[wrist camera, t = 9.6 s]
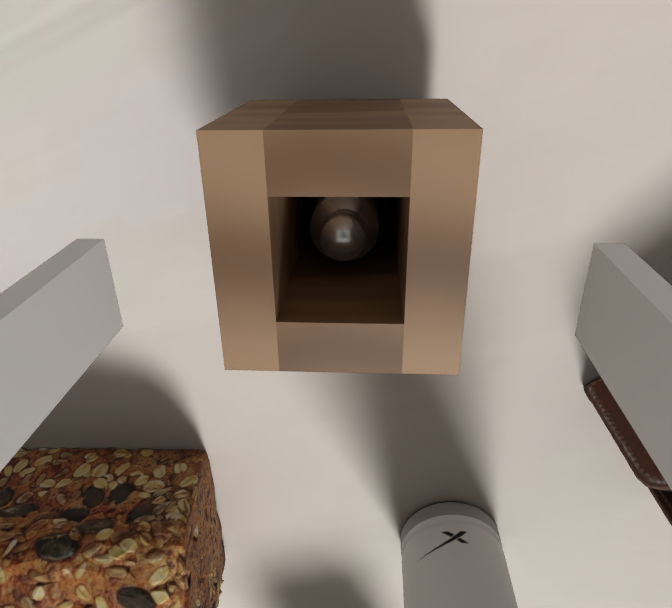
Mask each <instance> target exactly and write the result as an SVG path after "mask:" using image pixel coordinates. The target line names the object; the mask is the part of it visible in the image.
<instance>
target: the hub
mask: <svg viewBox="0 0 672 608" xmlns="http://www.w3.org/2000/svg"><path fill="white" fill-rule="evenodd" d="M396 205H397V197H302V219H303V241H313V243H314V244H315V246H316V247H317V249H318V250H319V251H320V252H321V253H322V254H324V255H325V256H327V257H329V258H331V259H333V260H337V261H352V260H356V259H359V258H361V257H363V256H364V255H366V254H367V253H368V252H369V251H370V250H371V249H372V248H373V246H374V245H375V243H376V241H395V233H396Z"/></svg>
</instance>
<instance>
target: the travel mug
mask: <svg viewBox="0 0 672 608" xmlns="http://www.w3.org/2000/svg"><path fill="white" fill-rule="evenodd" d="M401 555H402V574H403V592H404V608H518V607H517V603H516V599H515V595H514V591H513V587H512V583H511V579H510V575H509V571H508V567H507V563H506V559H505V555H504V552H503V549H502V544H501V540H500V536H499V532H498V529H497V526H496V524H495V523H494V521H493V520H492V519H491V518H490V517H489V516H488V515H487V514H486V513H485V512H483V511H481V510H480V509H478V508H476V507H473V506H471V505H468V504H463V503H455V502H446V503H438V504H434V505H430V506H427V507H425V508H423V509H421V510H419V511H418V512H416V513H414V514H413V515H412V516H411V517H410V518H409V519H408V521H407V522H406V523H405V525H404V527H403V529H402V532H401Z"/></svg>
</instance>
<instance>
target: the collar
mask: <svg viewBox="0 0 672 608" xmlns="http://www.w3.org/2000/svg"><path fill="white" fill-rule="evenodd" d="M196 133H197V141H198V150H199V158H200V166H201V175H202V183H203V191H204V200H205V208H206V216H207V225H208V233H209V241H210V249H211V258H212V266H213V274H214V283H215V291H216V299H217V308H218V316H219V324H220V333H221V341H222V349H223V358H224V366H225V370H258V371H304V372H351V373H397V374H444V375H459V365H460V355H461V345H462V335H463V325H464V315H465V304H466V294H467V284H468V274H469V264H470V254H471V244H472V234H473V224H474V214H475V204H476V194H477V184H478V174H479V164H480V154H481V144H482V134H483V129H482V128H481V127H480V126H479V125H478V124H477V123H475V122H474V121H473V120H472V119H471V118H469V117H468V116H467V115H466V114H465V113H464V112H462V111H461V110H460V109H459V108H458V107H457V106H455V105H454V104H453V103H452V102H451V101H449V100H448V99H360V100H252V101H250V102H248V103H246V104H244V105H242V106H240V107H239V108H237V109H235V110H233V111H231V112H229V113H227V114H226V115H224V116H222V117H220V118H218V119H216V120H214V121H213V122H211V123H209V124H207V125H205V126H203V127H201V128H200V129H198V130H196ZM302 197H397V205H396V233H395V241H376V243H375V245H374V246H373V248H372V249H371V250H370V251H369V252H368V253H367V254H366V255H364V256H363V257H361V258H359V259H356V260H352V261H337V260H333V259H331V258H329V257H327V256H325V255H324V254H322V253H321V252H320V251H319V250H318V249H317V247H316V246H315V244H314V243H313V241H303V219H302Z"/></svg>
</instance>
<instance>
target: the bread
mask: <svg viewBox="0 0 672 608" xmlns="http://www.w3.org/2000/svg"><path fill="white" fill-rule="evenodd" d="M221 540H222V527H221V524H220V520H219V519H218V515H217V512H216V510H215V492H214V484H213V479H212V475H211V470H210V463H209V460H208V457H207V453H204V452H201V451H200V450H195V449H180V450H177V451H172V450H151V449H147V448H143V449H136V450H133V451H131V450H128V449H121V448H105V449H100V450H98V449H95V448H92V449H89V450H88V449H81V448H74V449H68V448H58V449H48V448H39V449H35V450H32V451H26V450H24V449H22V448H20V449H19V450H18V451H17V453H16V454H15V455H14V456H13V457H12V459H11V460H10V461H9V462H8V463H7V464H6V466H5V467H4V468H3V469H2V470H1V472H0V608H217V607H218V604H219V599H218V598H219V596H220V594H221V593H222V591H221V589H220V587H221V584H222V583H223V581H224V580H222V574H223V570H224V566H225V551H224V546H223V544H222V543H221Z"/></svg>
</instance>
